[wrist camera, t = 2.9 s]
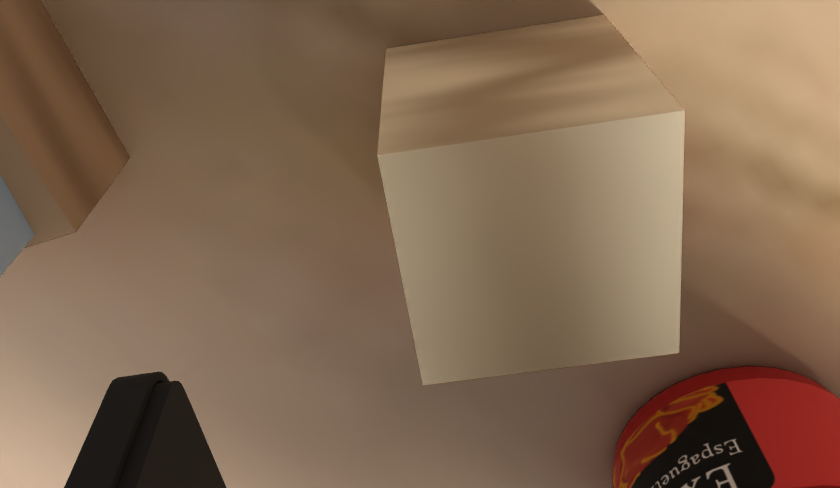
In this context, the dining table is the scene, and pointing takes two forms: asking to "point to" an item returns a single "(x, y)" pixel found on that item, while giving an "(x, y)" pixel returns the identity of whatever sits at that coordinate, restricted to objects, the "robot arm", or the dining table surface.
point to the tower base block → (50, 126)
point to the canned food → (734, 434)
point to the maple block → (533, 199)
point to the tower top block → (11, 228)
